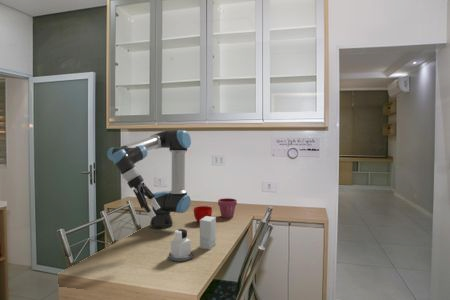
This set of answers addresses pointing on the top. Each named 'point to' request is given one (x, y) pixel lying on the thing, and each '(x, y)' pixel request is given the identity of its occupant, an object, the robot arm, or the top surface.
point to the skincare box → (207, 232)
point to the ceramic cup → (202, 212)
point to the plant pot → (227, 207)
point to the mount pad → (177, 259)
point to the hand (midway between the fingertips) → (155, 212)
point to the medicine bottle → (180, 244)
